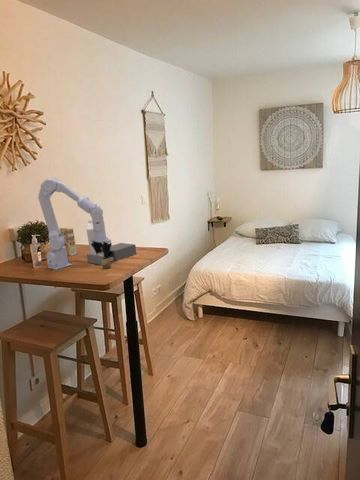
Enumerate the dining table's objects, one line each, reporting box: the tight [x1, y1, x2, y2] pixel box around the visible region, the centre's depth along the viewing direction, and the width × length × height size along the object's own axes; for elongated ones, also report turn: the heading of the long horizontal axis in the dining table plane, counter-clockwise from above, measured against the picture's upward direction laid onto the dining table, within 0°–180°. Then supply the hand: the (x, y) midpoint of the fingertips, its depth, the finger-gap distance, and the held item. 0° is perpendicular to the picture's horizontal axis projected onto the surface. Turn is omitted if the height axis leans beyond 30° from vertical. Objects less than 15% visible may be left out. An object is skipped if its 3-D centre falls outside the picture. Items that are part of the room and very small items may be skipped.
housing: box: [101, 242, 137, 262], centre depth 202 cm, size 14×12×6 cm
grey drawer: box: [86, 253, 114, 266], centre depth 196 cm, size 14×12×4 cm
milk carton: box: [86, 220, 104, 255], centre depth 210 cm, size 7×7×19 cm
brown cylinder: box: [101, 258, 112, 270], centre depth 182 cm, size 4×4×4 cm
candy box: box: [59, 226, 78, 256], centre depth 217 cm, size 9×4×15 cm, turn 44°
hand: (103, 256), depth 195 cm, fingers open, 6 cm apart
